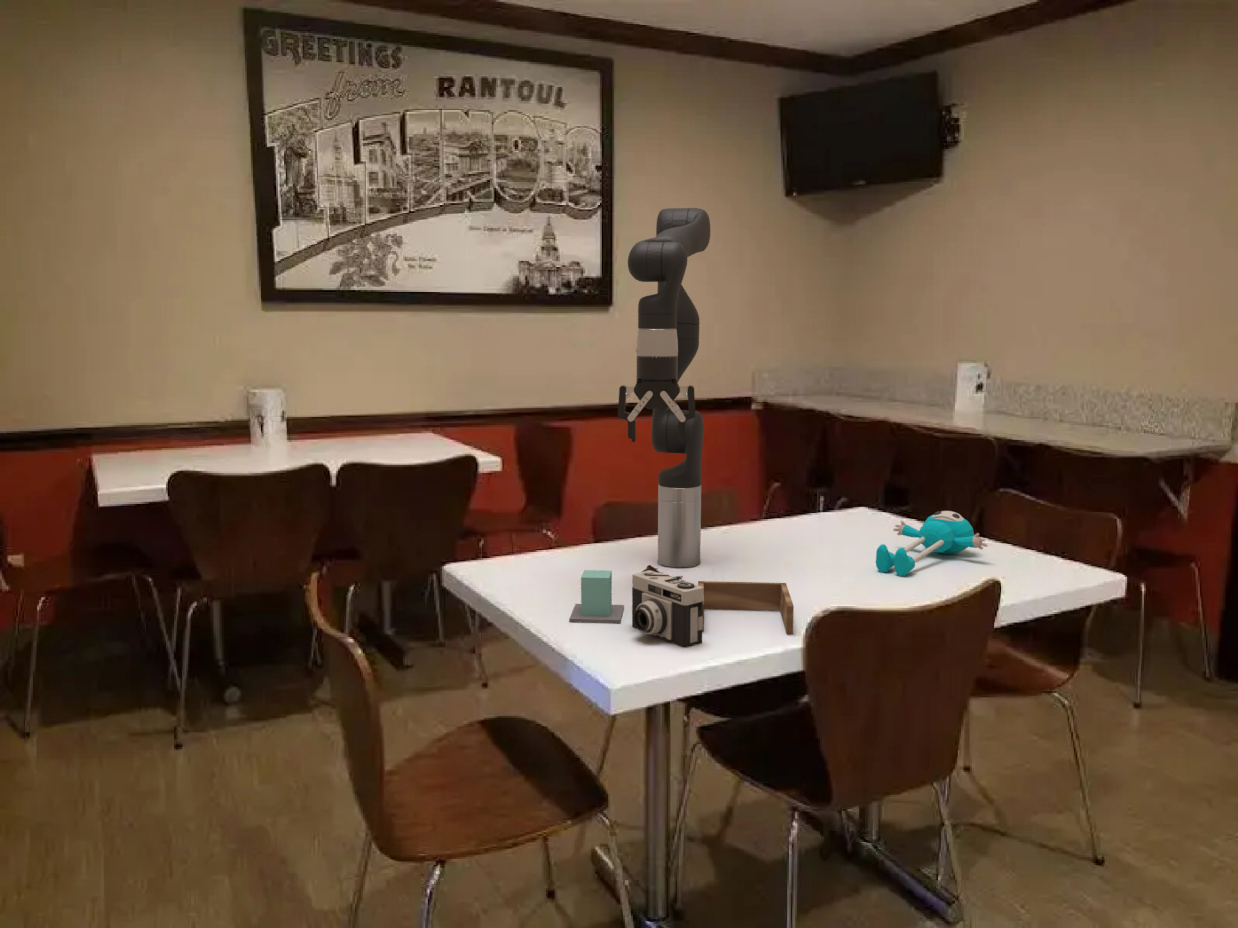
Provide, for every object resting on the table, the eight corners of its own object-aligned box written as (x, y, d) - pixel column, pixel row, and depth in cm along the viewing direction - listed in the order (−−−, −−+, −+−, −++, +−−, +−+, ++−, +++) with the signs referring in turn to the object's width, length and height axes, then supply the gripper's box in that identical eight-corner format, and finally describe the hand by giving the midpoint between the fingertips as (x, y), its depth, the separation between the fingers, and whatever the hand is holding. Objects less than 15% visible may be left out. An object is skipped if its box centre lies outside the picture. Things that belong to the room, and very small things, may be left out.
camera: (613, 631, 166) (613, 574, 164) (650, 621, 171) (650, 566, 169) (667, 653, 155) (667, 593, 154) (704, 642, 160) (705, 584, 159)
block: (584, 607, 177) (584, 570, 176) (611, 607, 177) (611, 570, 176) (581, 615, 172) (581, 577, 171) (609, 616, 172) (609, 578, 171)
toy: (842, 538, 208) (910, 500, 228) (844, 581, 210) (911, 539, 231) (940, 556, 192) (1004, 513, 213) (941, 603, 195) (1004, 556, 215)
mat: (575, 606, 179) (575, 603, 179) (624, 608, 179) (624, 604, 179) (569, 622, 170) (569, 618, 170) (620, 623, 170) (620, 620, 170)
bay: (697, 607, 179) (698, 581, 178) (785, 609, 178) (785, 583, 177) (697, 631, 165) (698, 603, 165) (792, 634, 164) (793, 605, 163)
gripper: (696, 353, 181) (695, 439, 183) (619, 352, 182) (619, 438, 184) (696, 354, 173) (695, 444, 176) (616, 354, 174) (616, 444, 177)
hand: (656, 441), depth 180 cm, fingers open, 8 cm apart
